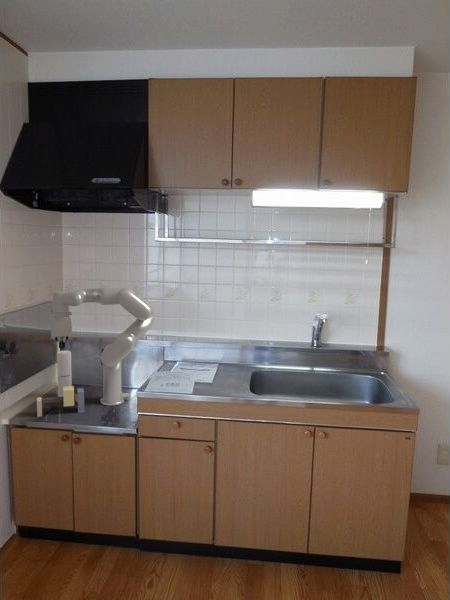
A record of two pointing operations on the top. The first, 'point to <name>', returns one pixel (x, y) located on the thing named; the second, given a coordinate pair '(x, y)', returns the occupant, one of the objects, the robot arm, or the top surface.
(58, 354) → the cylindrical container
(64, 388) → the pale yellow block
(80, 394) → the grey h-shaped piece
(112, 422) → the top surface
